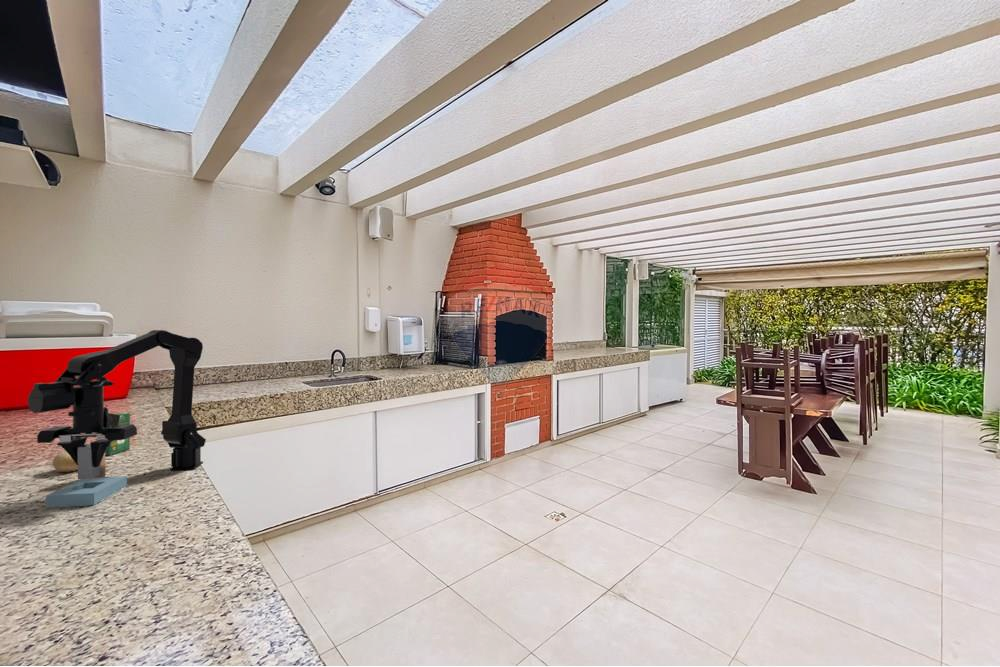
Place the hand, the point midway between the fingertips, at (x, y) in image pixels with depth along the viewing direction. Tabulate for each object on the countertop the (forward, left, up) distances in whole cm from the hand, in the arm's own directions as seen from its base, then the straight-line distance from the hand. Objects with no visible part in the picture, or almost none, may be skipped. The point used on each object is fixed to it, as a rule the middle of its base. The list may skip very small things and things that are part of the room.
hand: (89, 467), depth 112 cm
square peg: (0, 0, -3) cm, 2 cm away
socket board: (0, 0, -8) cm, 8 cm away
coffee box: (+19, -42, -8) cm, 47 cm away
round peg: (+8, -14, -8) cm, 18 cm away
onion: (+20, -24, -8) cm, 32 cm away
